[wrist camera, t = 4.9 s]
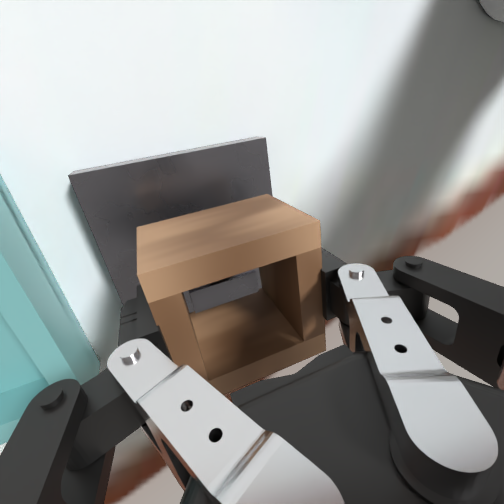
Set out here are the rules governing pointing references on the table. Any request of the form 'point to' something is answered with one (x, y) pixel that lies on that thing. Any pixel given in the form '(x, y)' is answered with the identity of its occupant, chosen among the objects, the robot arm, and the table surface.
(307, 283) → the walnut collar
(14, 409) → the tray
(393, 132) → the table surface
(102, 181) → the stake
